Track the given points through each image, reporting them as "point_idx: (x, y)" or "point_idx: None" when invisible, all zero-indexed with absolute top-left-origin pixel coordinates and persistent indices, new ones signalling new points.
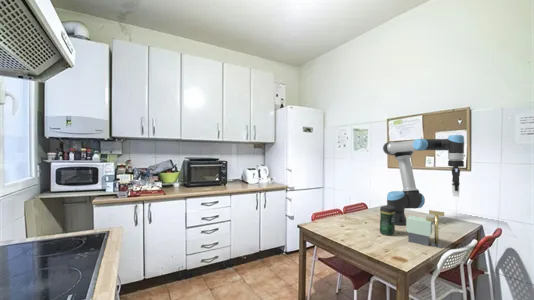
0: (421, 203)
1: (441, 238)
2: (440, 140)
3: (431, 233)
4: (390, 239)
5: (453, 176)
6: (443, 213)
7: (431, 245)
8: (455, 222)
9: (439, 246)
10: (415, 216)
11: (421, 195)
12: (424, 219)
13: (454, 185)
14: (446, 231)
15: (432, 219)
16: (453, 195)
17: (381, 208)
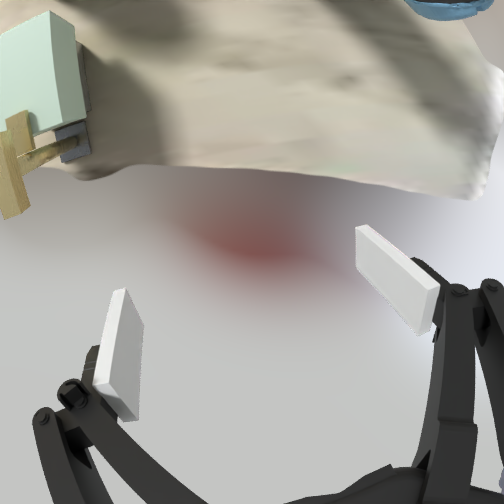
0: (415, 3)
1: (188, 123)
2: None
3: (65, 124)
4: (14, 19)
5: (192, 501)
6: (5, 214)
7: (55, 132)
8: (454, 139)
9: (63, 156)
10: (50, 41)
11: (467, 1)
12: (23, 103)
13: (99, 391)
14: (316, 118)
15: (15, 147)
16: (113, 296)
17: None
